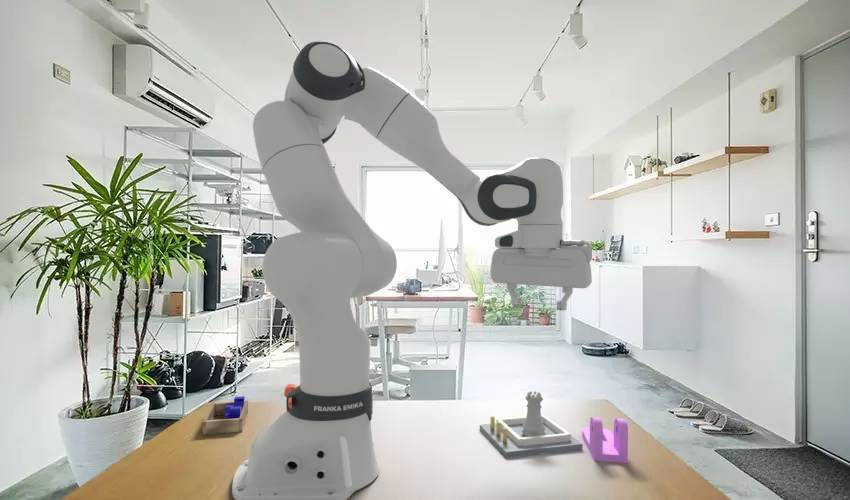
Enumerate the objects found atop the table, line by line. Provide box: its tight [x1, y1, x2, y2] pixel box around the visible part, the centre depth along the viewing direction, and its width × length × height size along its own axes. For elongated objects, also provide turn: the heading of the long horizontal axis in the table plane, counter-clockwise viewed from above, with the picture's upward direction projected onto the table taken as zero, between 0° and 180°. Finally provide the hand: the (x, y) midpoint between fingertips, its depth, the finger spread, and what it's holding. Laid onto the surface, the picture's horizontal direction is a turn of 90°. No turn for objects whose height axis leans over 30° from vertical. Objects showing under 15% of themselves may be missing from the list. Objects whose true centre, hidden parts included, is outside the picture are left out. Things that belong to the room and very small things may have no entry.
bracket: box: [581, 416, 629, 464], centre depth 91 cm, size 13×6×7 cm, turn 173°
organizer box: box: [201, 400, 249, 436], centre depth 100 cm, size 7×11×2 cm, turn 14°
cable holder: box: [224, 395, 246, 419], centre depth 101 cm, size 8×4×4 cm, turn 14°
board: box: [479, 414, 583, 459], centre depth 93 cm, size 15×13×4 cm
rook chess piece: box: [522, 391, 546, 437], centre depth 93 cm, size 4×4×8 cm
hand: (538, 307), depth 99 cm, fingers open, 8 cm apart
